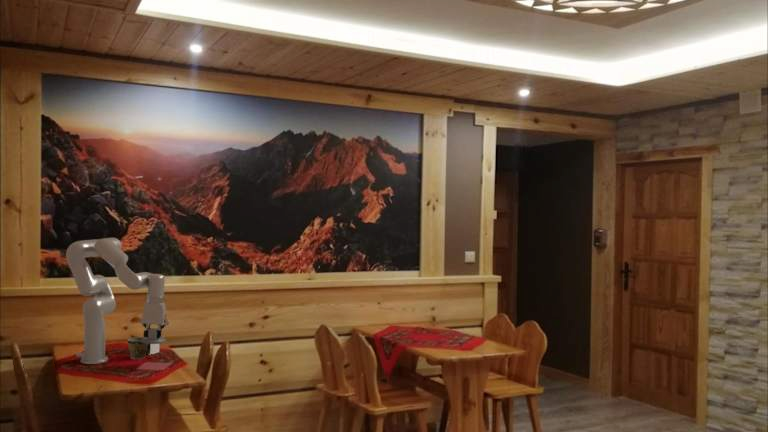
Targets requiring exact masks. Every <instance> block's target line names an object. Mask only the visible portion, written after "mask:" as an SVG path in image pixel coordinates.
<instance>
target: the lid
mask: <svg viewBox="0 0 768 432" xmlns="http://www.w3.org/2000/svg"><path fill="white" fill-rule="evenodd" d="M157 331H158V327H150V329H148V338H147V337H145V338H142V339H141V342H142V343H146V344H159V345H160V344H163V343H165V342H166V338H165V337H162V336H161V337H160V338H159V339H157Z"/></svg>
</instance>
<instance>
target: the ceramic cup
mask: <svg viewBox="0 0 768 432" xmlns="http://www.w3.org/2000/svg"><path fill="white" fill-rule="evenodd" d="M142 338H145V337H144V336H134V337H130V338H128V339H127V345H128V348H129V349H128V350H129V357H130V360H136V361H137V360H138V361H139V360H143V359H145V357H146V349H147V345H148V344H146V343H142V342H141V339H142Z"/></svg>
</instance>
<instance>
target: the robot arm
mask: <svg viewBox="0 0 768 432" xmlns="http://www.w3.org/2000/svg"><path fill="white" fill-rule="evenodd" d="M122 248H123V244H122V241H121V240H119V239H118V238H117V237H106V238H105V237H103V238H97V239H86V240H85V239H83V240H77V241H75V242H73V243H71V244H70V245H69V246H68V247H67V249H66V252H65V258H66V260H65V261H66V262H67V265H68V267H69V268H70V271H71V274H72V275H73V279H74V282H75V283H76V287H77V290H78V292H79V294H80V295H82V296H83V297H89V296H93V297H90V298H88V299H86V300H85V301H84V302H83V305H82V314H83V320H84V321H83V322H84V323H83V325H84V328H83V329H84V336H83V338H84V339H83V343H84V345H83V352H80V351H79V352H78V351H77V352H76V353H75V354H76V358H80V363H81V364H85V365H98V364H103V363H107V362H108V361H109V357H108V356H106V320H105V318H104V315H107V314H111V313H112V312H114V311H115V309H116V308H117V307H116V306H117V303H116V297H115V296H114V293H113V290H112V287H111V285H110V282H109V280H108V279H107V277H105V276H104V275H101V274H95V275H94V273H93V271H92V267H91V266H90V264H89V263H88V262H87V261H86V260H85V258H91V257H92V258H93V257H101V258H102V260H104V261H105V262H106V263H107V264H109V265H110V266H111V267H112V268H113V269H114V272H115V275H116V277H117V278H118V280H119V281H120V282H121V283H122V284H124V286H126V287H127V288H129V289H131V290H136V291H137V290H141V289H146V288H147V296H144V298H143V299H144V301H146V302H145V303H144V307H143V313H142V318H141V319H140V321H139V324H141V325H142V326H143V327H144V328H145V330H147V332H146V336H147V338H148V329H150V328H151V325H157V328H158V331H157V339H159V338H160V337H162V330H163V329H164V328H165V327H167V326H169V325H170V323H169V320H168V319H167V307H166V303H165V301H164V298H165V284H166V283H165V282H166V279H165V275H164V274H160V273H152V272H149V271H148V272H147V271H143V272H138V273H137V272H136V273H135V271H132V270H131V268H129V267H128V265H127V263H128V261H129V256H128V254H127V253H125V252H124V251H123V249H122Z"/></svg>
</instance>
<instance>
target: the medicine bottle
mask: <svg viewBox="0 0 768 432" xmlns="http://www.w3.org/2000/svg"><path fill="white" fill-rule="evenodd" d="M146 332H147V330H146V329H145V330H144V331H143V337H147V336H146ZM158 353H160V344H148V345H147V349H146V354H148V355H147V356H151V354H152V355H155V354H158ZM146 354H145V355H146Z"/></svg>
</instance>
